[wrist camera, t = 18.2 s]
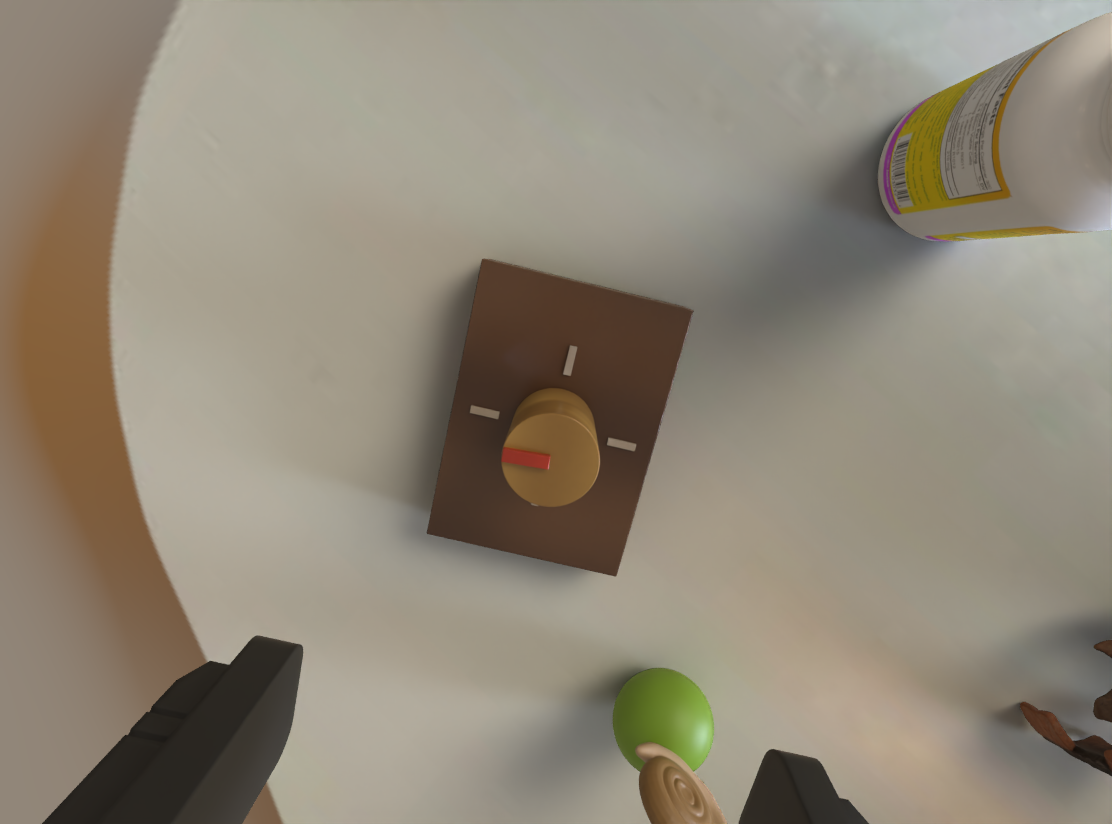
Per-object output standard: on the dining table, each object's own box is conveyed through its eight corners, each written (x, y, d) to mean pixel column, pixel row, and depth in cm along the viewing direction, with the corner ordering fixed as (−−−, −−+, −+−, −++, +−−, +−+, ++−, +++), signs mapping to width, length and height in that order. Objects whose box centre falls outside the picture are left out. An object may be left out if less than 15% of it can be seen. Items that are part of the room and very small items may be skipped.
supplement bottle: (1045, 157, 28) (1427, 72, 16) (938, 270, 29) (1211, 275, 17) (947, 58, 27) (1269, -116, 15) (841, 179, 28) (1054, 114, 16)
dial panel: (612, 554, 33) (616, 578, 31) (436, 514, 33) (425, 535, 30) (683, 306, 30) (695, 310, 27) (489, 258, 30) (481, 258, 27)
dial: (601, 395, 29) (609, 424, 23) (586, 473, 30) (590, 518, 24) (519, 381, 29) (508, 406, 23) (506, 459, 30) (493, 501, 24)
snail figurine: (668, 751, 36) (715, 980, 25) (590, 690, 36) (601, 898, 24) (732, 695, 35) (813, 906, 24) (654, 630, 34) (697, 817, 23)
